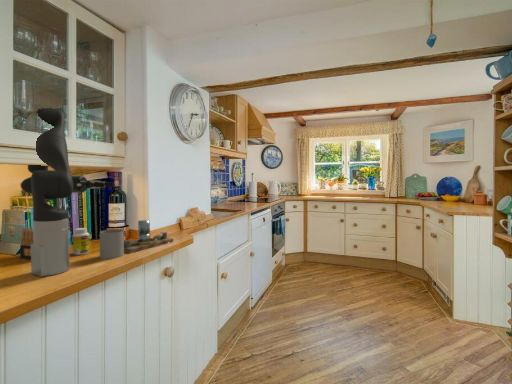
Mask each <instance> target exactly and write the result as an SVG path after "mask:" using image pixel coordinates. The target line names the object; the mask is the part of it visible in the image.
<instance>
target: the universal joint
mask: <svg viewBox="0 0 512 384" xmlns="http://www.w3.org/2000/svg"><path fill="white" fill-rule="evenodd" d="M137 227H138V228H137V233H138V234H137V239H138V242H150V238H151V233H150V232H151V228H150V227H151V221H150V220H148V219H146V220H145V219H142V220H138V221H137Z"/></svg>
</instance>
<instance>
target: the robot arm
mask: <svg viewBox="0 0 512 384" xmlns="http://www.w3.org/2000/svg"><path fill="white" fill-rule="evenodd" d="M52 108H53V107H50V108H46V109H45V108H42V109H38V111H37V113H38V116H39V117H40V118H41V119H42V120H44V121H45V122H47V123H48V124H51V125H52V126H54V128H52V129H50V130H48V129H46V130H45V131H43V132H42V133H40V136H39V137H38V138H37V141H36V152H37V155H38V156H39V158H40V159H41V160H42V161H43V162H44V163H46V164H47V165H48V166H41V165H28V164H27V170H28V171H29V173H31V176H30V177H27V178H24V179H23V180H22V181H21V182H20V187H21V190H22V191H24V192H25V193H27V194H31V196H32V197H31V198H32V226H33V227H32V229H33V235H34V244H31V259H30V264H31V265H30V267H31V270H30V271H31V275H34V276H38V277H42V278H43V277H45V276H51V275H52V276H53V275H58V274H62V273H65V272H67V271H69V270H70V246H69V245H70V237H69V236H70V235H69V234H70V232H69V231H70V229H69V225H70V224H69V211H68V210H67V209H65V208H60V207H58V206H57V207H56V206H53V205H52V204H49V203H48V202H46V200H47V199H48V200H49V199H50V200H51V199H52V200H53V199H55V200H56V199H67V198H71V196H72V195H73V193H81V194H82V193H85V192H86V191H87V190H91V189H101V188H114V187H115V182H113V181H101V180H93V179H87V178H86V177H85V176H83V175H72V172H71V168H70V164H69V155H68V154H69V150H68V143H67V139H66V132H65V130H66V126H65V123H66V120H65V119H66V118H65V114H64V112H63V111H62V110H60V109H57V108H55V109H52ZM49 167H50V168H51V170H50V169H49ZM52 169H53V170H52Z"/></svg>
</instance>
